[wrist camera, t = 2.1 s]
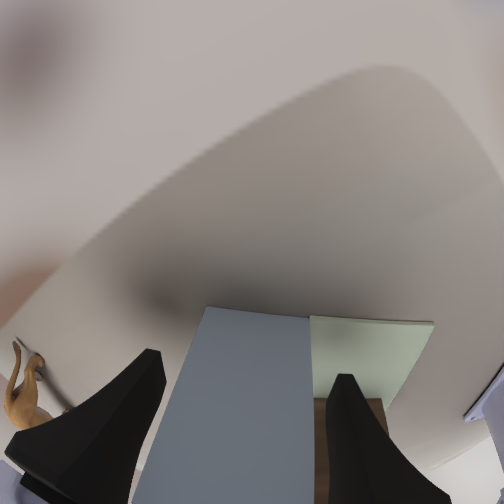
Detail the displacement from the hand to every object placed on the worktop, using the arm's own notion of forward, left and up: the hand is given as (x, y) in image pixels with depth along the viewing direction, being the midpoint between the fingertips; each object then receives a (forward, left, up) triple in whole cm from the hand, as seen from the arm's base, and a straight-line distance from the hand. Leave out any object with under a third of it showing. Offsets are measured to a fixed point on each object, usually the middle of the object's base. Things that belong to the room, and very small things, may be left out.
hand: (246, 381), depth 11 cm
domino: (0, 0, -4) cm, 4 cm away
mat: (-6, +13, -4) cm, 15 cm away
